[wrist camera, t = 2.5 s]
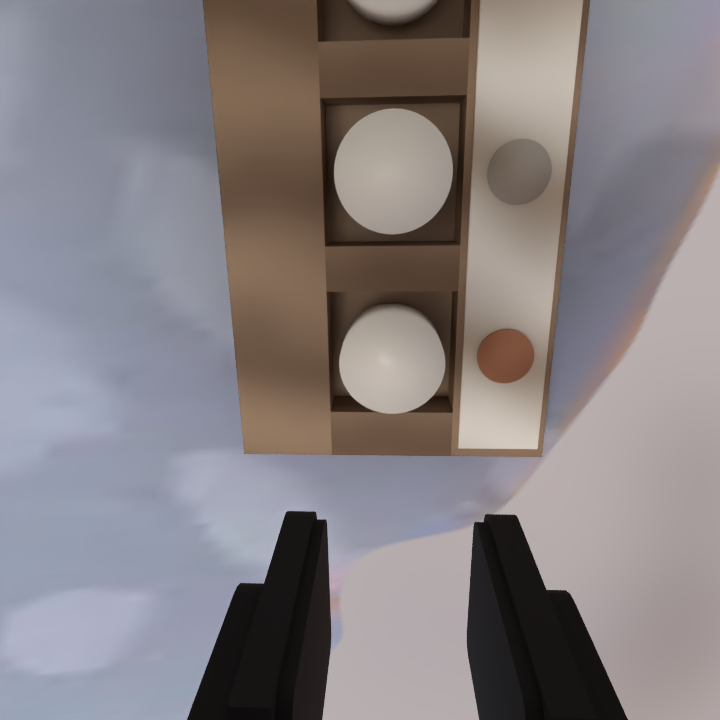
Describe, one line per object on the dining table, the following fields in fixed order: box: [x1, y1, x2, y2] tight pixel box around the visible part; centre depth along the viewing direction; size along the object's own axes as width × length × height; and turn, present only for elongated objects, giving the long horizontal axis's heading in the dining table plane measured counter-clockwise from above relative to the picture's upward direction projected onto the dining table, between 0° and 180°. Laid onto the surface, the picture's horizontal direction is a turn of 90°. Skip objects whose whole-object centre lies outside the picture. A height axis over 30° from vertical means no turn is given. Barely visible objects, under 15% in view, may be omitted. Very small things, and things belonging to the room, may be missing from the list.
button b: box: [334, 108, 453, 234], centre depth 21 cm, size 4×4×2 cm
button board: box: [203, 0, 590, 457], centre depth 22 cm, size 25×14×3 cm, turn 1°
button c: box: [339, 302, 445, 414], centre depth 23 cm, size 4×4×2 cm
